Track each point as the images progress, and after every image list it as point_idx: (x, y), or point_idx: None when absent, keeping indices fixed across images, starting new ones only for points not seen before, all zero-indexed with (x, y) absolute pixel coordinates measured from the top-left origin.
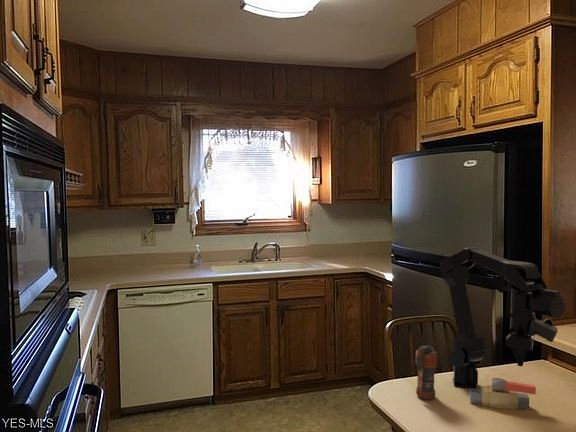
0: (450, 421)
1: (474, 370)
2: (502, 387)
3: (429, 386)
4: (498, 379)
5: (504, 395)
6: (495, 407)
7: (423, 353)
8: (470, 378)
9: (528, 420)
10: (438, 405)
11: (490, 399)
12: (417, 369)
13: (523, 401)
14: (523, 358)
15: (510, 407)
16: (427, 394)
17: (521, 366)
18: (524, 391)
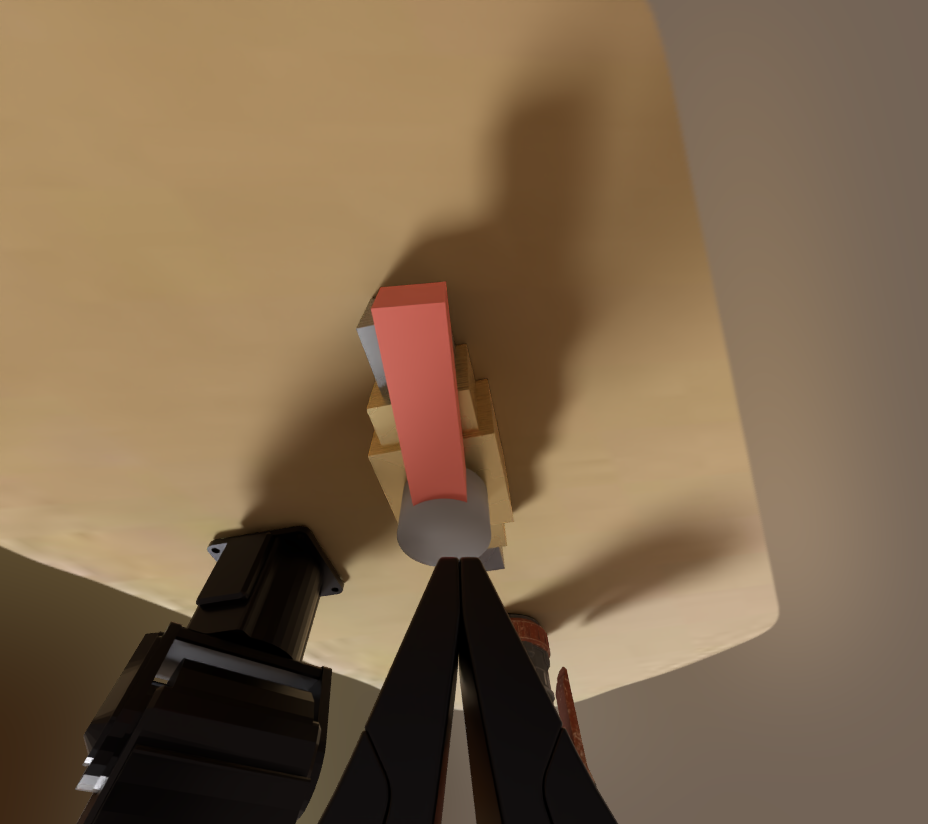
0: (711, 551)
1: (255, 612)
2: (482, 493)
3: (544, 675)
4: (428, 541)
5: (499, 452)
6: (500, 440)
7: None
8: (293, 582)
9: (608, 281)
10: (573, 594)
11: (508, 486)
12: None
13: None
14: (538, 681)
15: (475, 381)
16: (547, 645)
17: (479, 560)
18: (454, 366)
